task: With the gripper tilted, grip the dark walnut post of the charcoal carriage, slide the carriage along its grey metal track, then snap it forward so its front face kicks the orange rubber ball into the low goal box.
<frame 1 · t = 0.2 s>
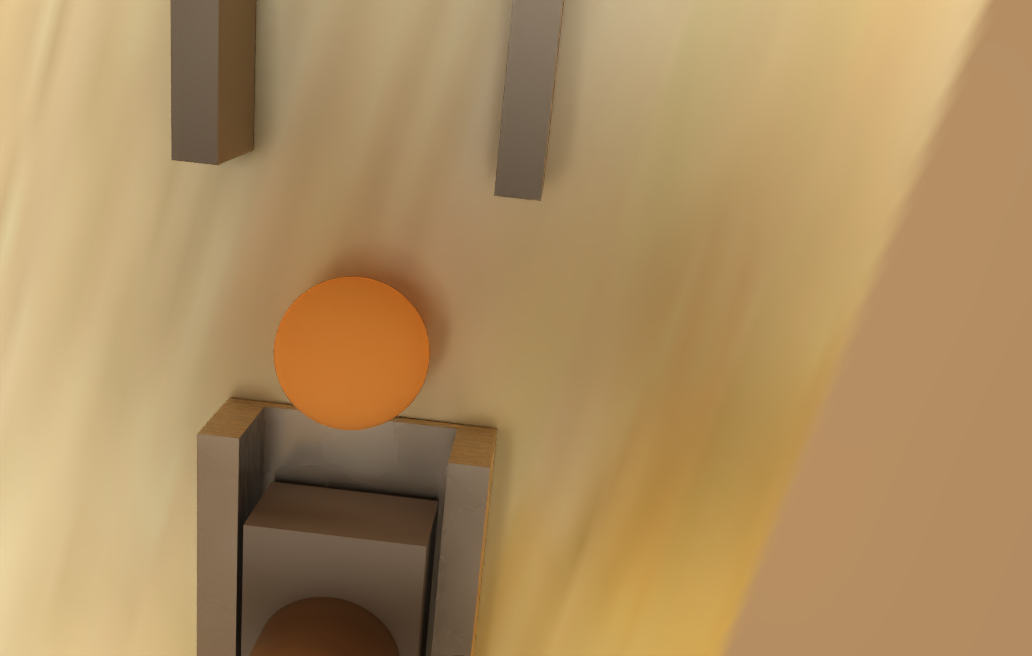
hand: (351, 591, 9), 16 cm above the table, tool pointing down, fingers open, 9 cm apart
track: (352, 596, 27), on the table
ball: (352, 353, 23), point 2 cm above the table
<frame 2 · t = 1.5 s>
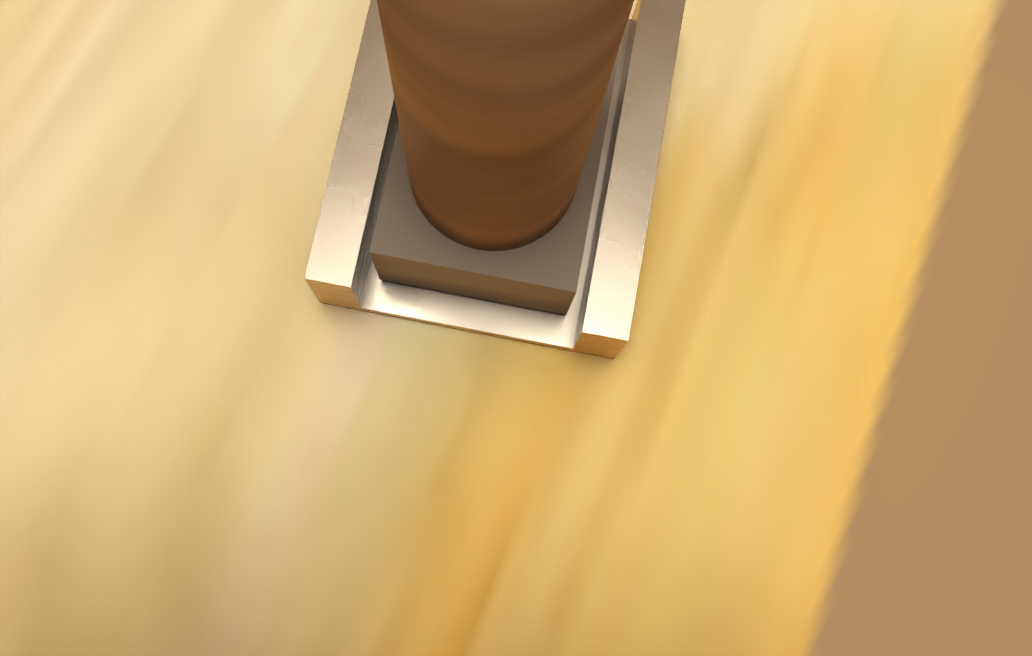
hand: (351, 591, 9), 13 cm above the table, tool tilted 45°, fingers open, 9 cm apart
slider: (505, 47, 17), point 7 cm above the table, slide at 0.0 cm
track: (491, 210, 24), on the table
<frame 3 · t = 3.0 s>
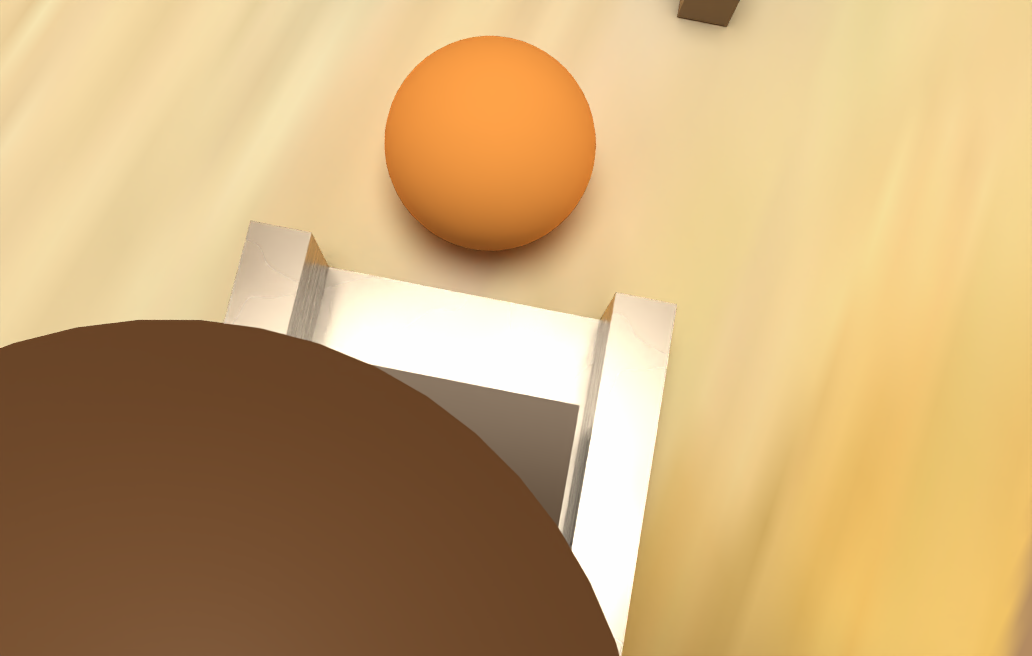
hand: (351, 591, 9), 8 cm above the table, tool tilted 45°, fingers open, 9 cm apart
slider: (366, 581, 10), point 7 cm above the table, slide at 0.0 cm
track: (401, 602, 17), on the table
ball: (490, 145, 17), point 2 cm above the table
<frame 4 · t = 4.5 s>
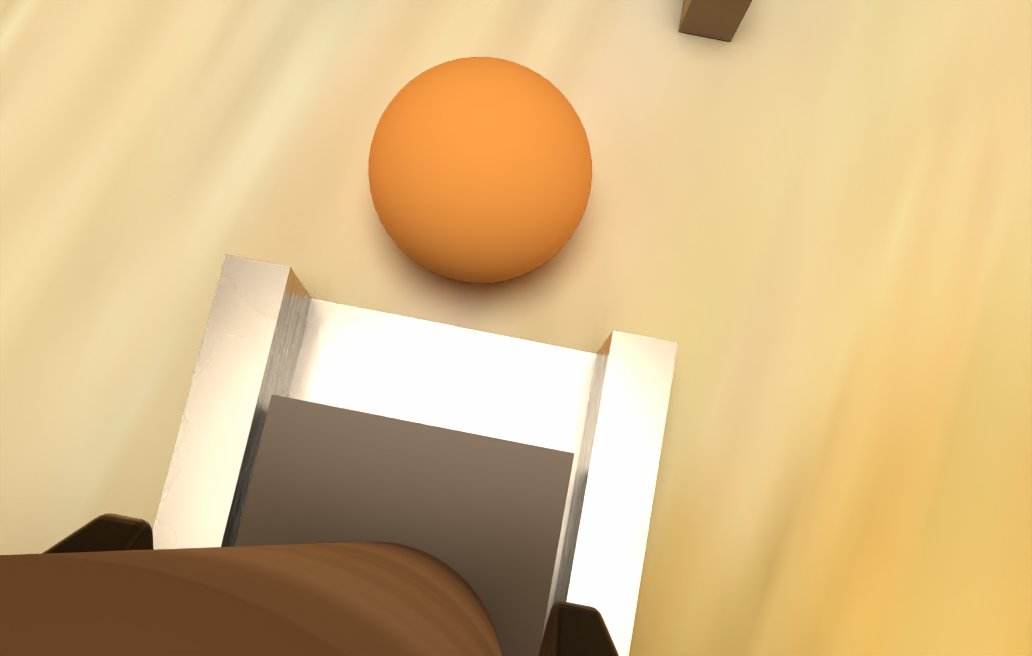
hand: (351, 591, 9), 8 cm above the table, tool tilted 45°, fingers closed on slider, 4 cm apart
track: (386, 653, 16), on the table
ball: (480, 171, 16), point 2 cm above the table
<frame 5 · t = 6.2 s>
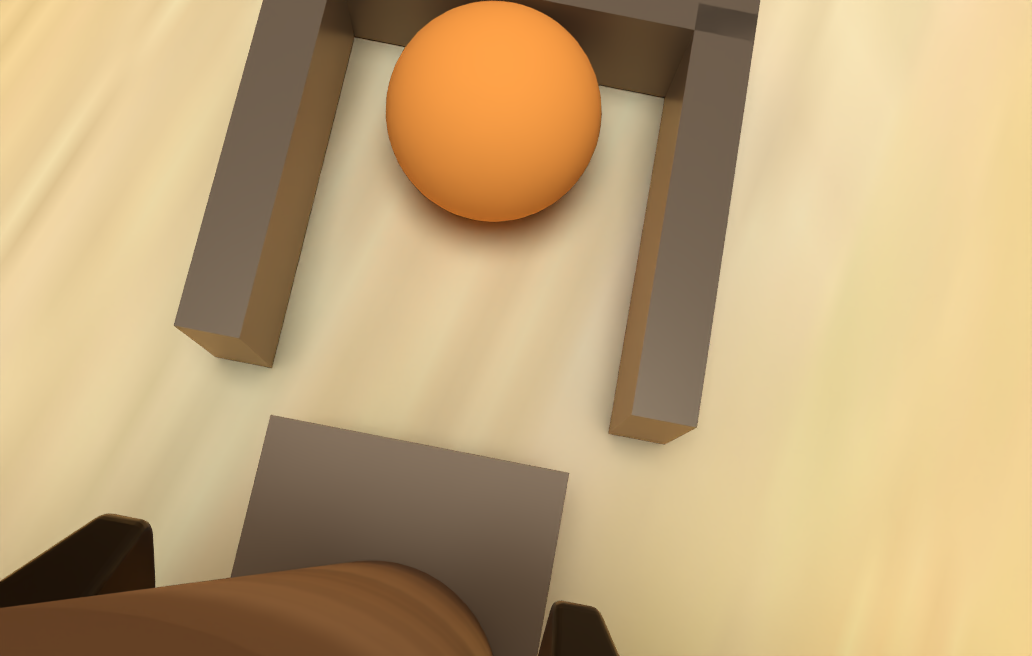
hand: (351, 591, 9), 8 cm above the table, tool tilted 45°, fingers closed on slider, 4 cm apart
ball: (493, 113, 17), point 2 cm above the table, tilted 81°
goal: (484, 188, 18), on the table
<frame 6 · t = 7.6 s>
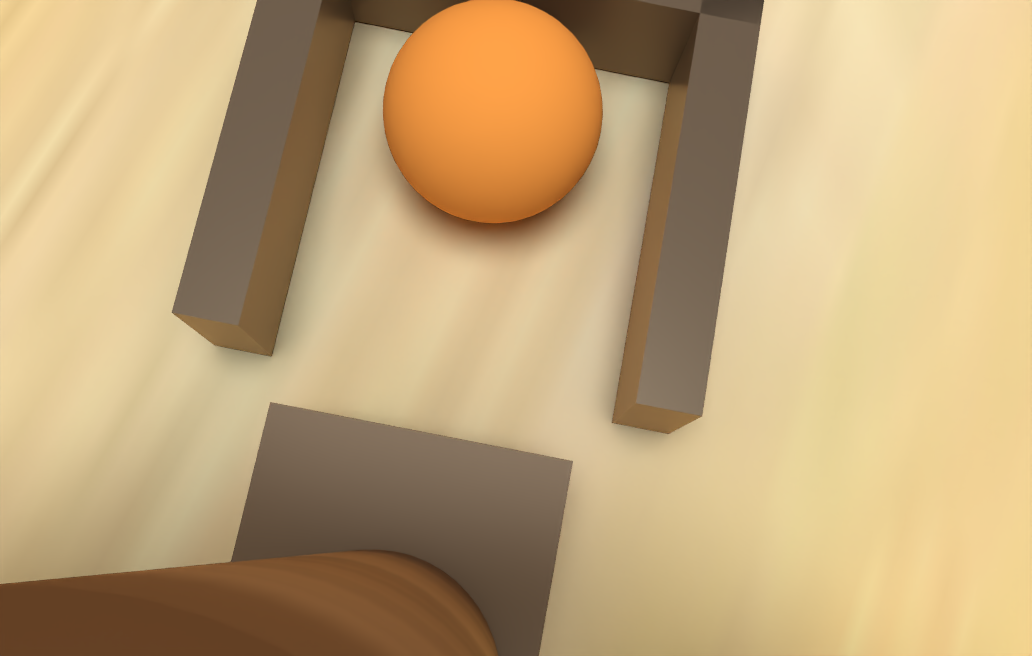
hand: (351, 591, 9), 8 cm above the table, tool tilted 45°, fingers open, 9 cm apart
ball: (493, 113, 16), point 2 cm above the table, tilted 89°
goal: (486, 175, 18), on the table
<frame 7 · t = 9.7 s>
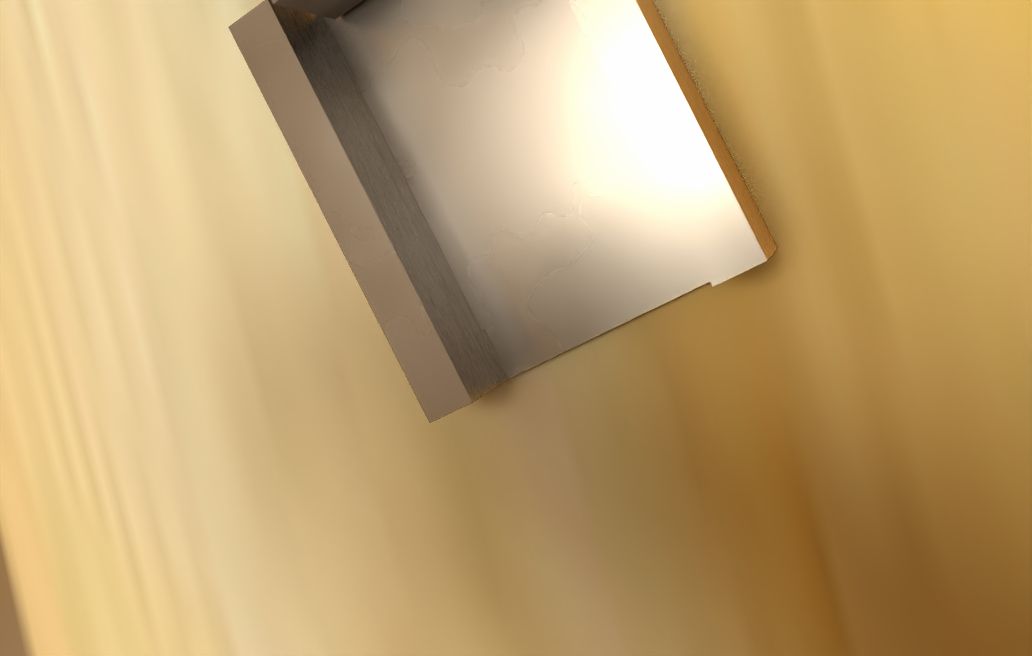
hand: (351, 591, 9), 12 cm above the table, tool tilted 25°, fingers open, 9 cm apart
track: (547, 192, 20), on the table
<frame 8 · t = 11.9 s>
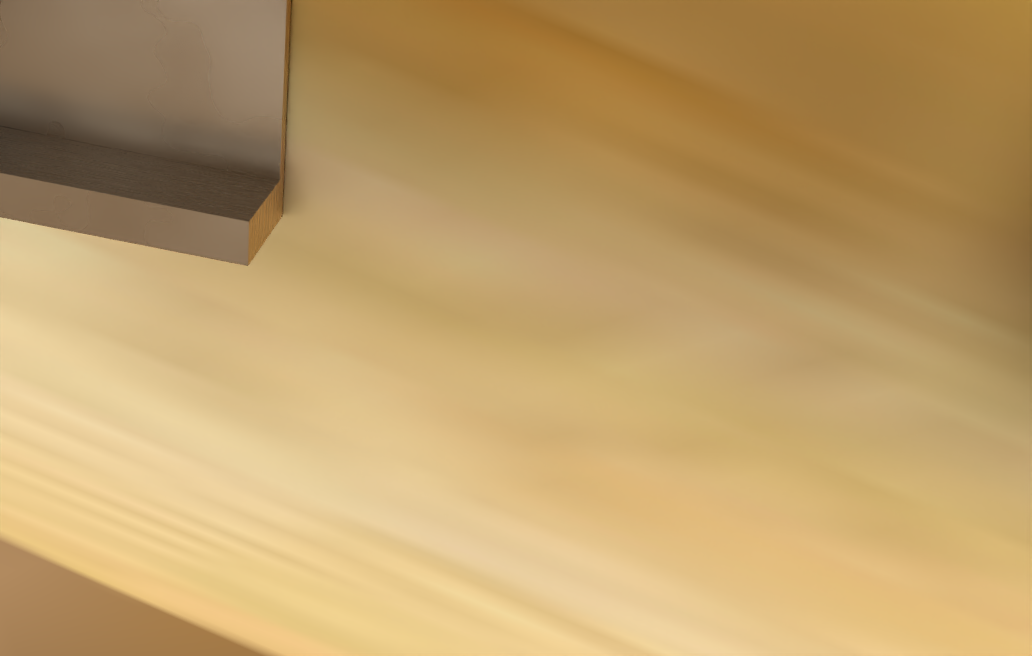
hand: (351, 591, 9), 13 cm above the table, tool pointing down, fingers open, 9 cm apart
track: (142, 33, 20), on the table
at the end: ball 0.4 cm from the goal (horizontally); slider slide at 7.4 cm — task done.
